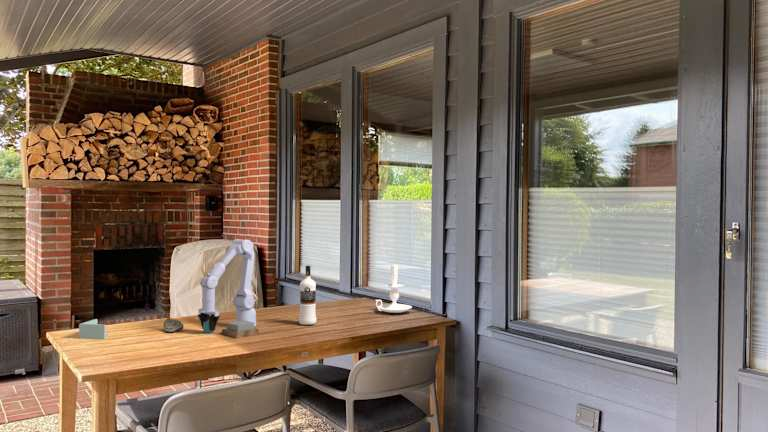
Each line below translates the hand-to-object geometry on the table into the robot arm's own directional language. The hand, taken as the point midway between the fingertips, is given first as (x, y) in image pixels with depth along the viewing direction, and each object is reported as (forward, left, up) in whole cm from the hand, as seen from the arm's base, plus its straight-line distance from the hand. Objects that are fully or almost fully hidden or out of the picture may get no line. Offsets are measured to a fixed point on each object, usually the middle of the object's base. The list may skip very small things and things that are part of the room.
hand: (208, 329), depth 276 cm
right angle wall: (+40, -26, -2) cm, 47 cm away
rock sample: (+14, -12, -2) cm, 19 cm away
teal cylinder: (0, 0, -2) cm, 2 cm away
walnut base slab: (-8, +14, -2) cm, 16 cm away
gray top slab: (-8, +14, +1) cm, 16 cm away
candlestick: (-101, +30, -2) cm, 105 cm away
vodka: (-47, +18, -2) cm, 50 cm away
